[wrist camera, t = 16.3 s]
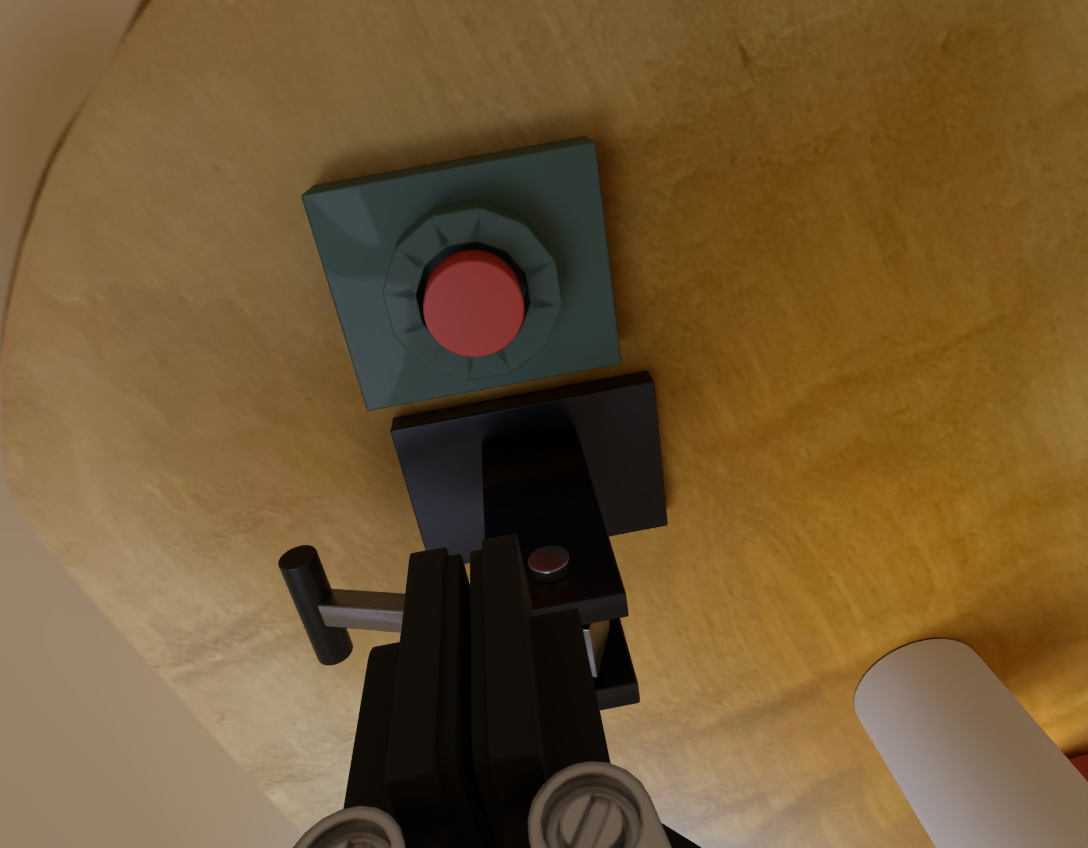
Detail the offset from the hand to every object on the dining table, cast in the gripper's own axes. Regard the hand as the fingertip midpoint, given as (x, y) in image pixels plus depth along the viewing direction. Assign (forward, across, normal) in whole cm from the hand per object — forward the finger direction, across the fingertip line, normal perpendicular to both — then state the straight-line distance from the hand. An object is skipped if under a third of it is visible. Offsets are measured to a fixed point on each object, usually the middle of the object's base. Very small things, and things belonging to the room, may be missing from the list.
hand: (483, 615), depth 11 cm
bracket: (+21, -1, +10) cm, 23 cm away
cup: (+21, -22, +31) cm, 44 cm away
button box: (+21, 0, 0) cm, 21 cm away
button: (+18, 0, 0) cm, 18 cm away
